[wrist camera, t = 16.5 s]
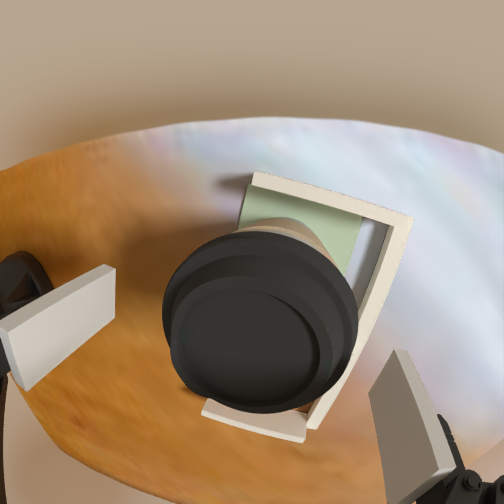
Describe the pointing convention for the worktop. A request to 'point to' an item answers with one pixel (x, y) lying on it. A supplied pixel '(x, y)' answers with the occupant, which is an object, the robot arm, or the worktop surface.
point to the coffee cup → (261, 318)
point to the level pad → (305, 219)
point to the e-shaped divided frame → (296, 422)
